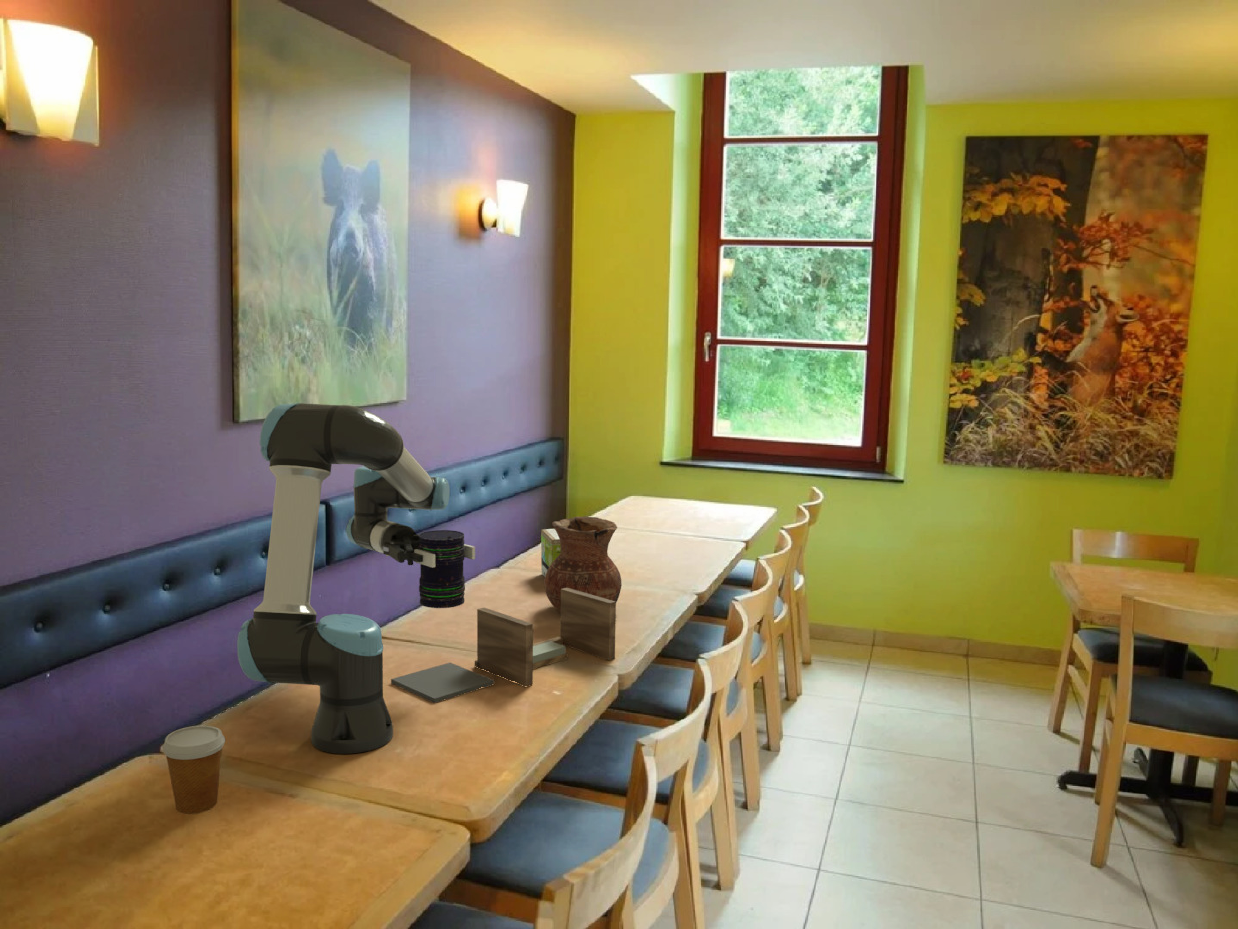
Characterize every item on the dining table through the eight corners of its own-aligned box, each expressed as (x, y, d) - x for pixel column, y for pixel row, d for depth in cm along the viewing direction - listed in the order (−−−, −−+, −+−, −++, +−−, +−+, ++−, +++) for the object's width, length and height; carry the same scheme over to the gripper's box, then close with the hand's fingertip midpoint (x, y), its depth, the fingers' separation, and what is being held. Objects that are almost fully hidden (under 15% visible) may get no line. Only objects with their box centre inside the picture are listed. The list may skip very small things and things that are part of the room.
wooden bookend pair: (525, 687, 227) (526, 625, 225) (474, 667, 240) (474, 608, 238) (614, 658, 247) (615, 601, 245) (563, 641, 260) (564, 586, 258)
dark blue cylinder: (410, 601, 226) (409, 534, 224) (447, 593, 233) (447, 528, 230) (436, 611, 219) (435, 542, 217) (474, 602, 226) (474, 535, 223)
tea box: (540, 574, 325) (540, 528, 323) (571, 572, 328) (571, 526, 326) (551, 586, 311) (551, 538, 309) (583, 584, 314) (584, 536, 312)
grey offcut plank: (530, 664, 239) (530, 656, 239) (515, 658, 242) (515, 651, 242) (565, 653, 247) (565, 646, 247) (550, 648, 250) (550, 641, 250)
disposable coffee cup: (205, 822, 165) (202, 750, 164) (152, 815, 167) (149, 744, 166) (238, 795, 175) (236, 727, 173) (188, 789, 177) (185, 722, 175)
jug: (632, 618, 280) (634, 527, 276) (558, 625, 272) (559, 532, 269) (603, 597, 300) (605, 512, 297) (534, 603, 293) (534, 516, 289)
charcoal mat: (434, 703, 217) (434, 698, 217) (391, 683, 228) (391, 679, 228) (494, 684, 229) (494, 680, 228) (450, 666, 239) (450, 662, 239)
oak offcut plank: (529, 673, 238) (529, 665, 238) (512, 666, 242) (512, 659, 242) (567, 661, 247) (567, 653, 247) (550, 655, 251) (550, 648, 251)
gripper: (435, 548, 245) (495, 565, 230) (351, 563, 229) (410, 583, 214) (434, 517, 244) (495, 532, 229) (351, 530, 228) (409, 547, 213)
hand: (454, 557), depth 221 cm, fingers closed on dark blue cylinder, 10 cm apart
